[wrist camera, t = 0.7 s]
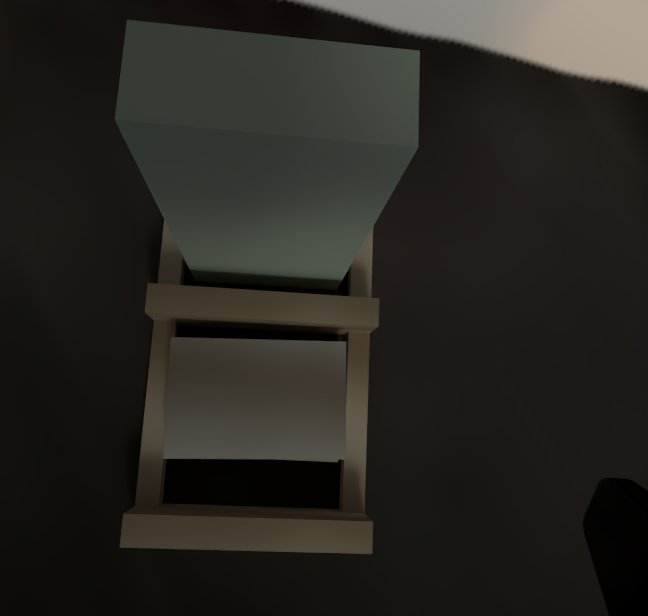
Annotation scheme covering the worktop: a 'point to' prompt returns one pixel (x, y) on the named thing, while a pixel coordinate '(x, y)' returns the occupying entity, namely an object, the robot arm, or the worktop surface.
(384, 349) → the worktop surface
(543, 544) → the worktop surface
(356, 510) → the rack
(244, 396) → the offcut upper
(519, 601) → the worktop surface
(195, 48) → the panel
